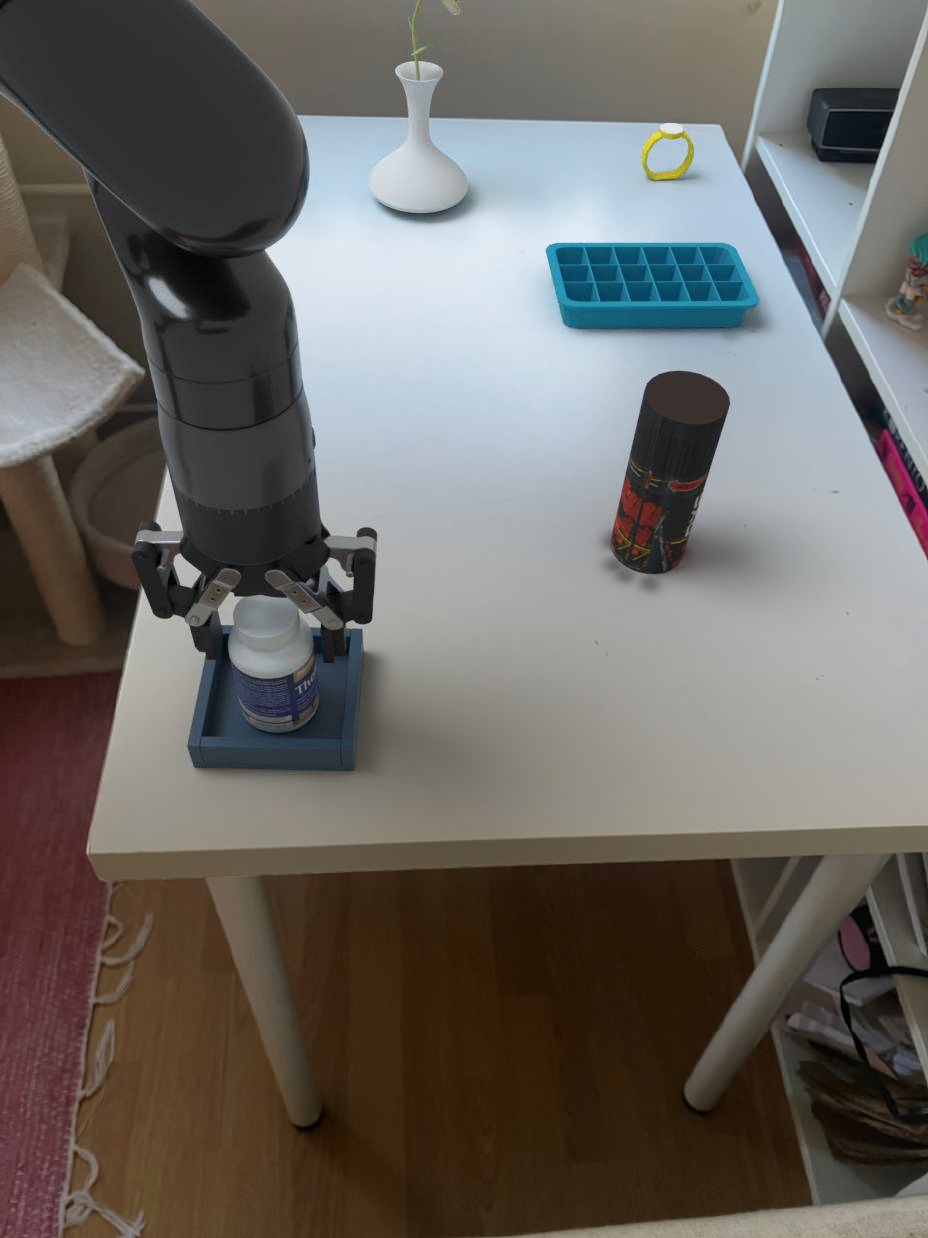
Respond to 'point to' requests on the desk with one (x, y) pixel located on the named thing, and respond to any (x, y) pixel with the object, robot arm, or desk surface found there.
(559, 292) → the ice cube tray
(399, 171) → the flower in vase
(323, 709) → the tray
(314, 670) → the pill bottle
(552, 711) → the desk surface
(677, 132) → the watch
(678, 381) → the deodorant
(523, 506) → the desk surface
